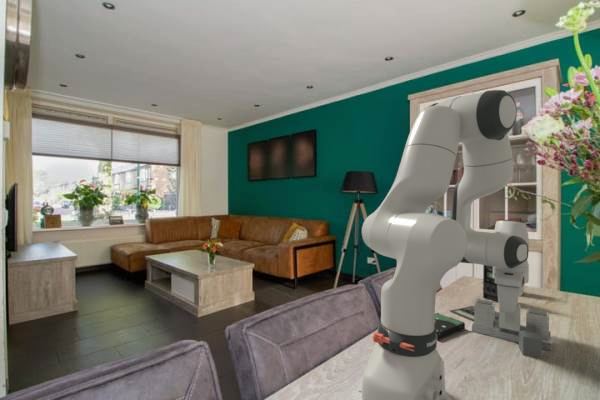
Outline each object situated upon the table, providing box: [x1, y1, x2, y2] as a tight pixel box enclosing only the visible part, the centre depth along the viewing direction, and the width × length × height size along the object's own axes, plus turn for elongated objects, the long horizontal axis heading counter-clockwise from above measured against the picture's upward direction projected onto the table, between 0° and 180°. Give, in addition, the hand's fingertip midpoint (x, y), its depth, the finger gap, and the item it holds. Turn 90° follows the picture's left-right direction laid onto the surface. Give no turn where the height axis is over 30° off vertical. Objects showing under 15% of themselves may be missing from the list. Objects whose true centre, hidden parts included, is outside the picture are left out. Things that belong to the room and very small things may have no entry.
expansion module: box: [498, 303, 521, 332], centre depth 90 cm, size 4×5×7 cm
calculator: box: [449, 305, 499, 323], centre depth 107 cm, size 12×1×15 cm
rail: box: [471, 298, 552, 351], centre depth 90 cm, size 6×19×9 cm, turn 51°
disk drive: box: [434, 312, 466, 341], centre depth 96 cm, size 10×3×15 cm
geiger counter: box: [482, 265, 499, 304], centre depth 121 cm, size 10×4×15 cm, turn 21°
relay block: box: [518, 331, 543, 359], centre depth 81 cm, size 4×4×5 cm
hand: (509, 319), depth 90 cm, fingers closed on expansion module, 4 cm apart
